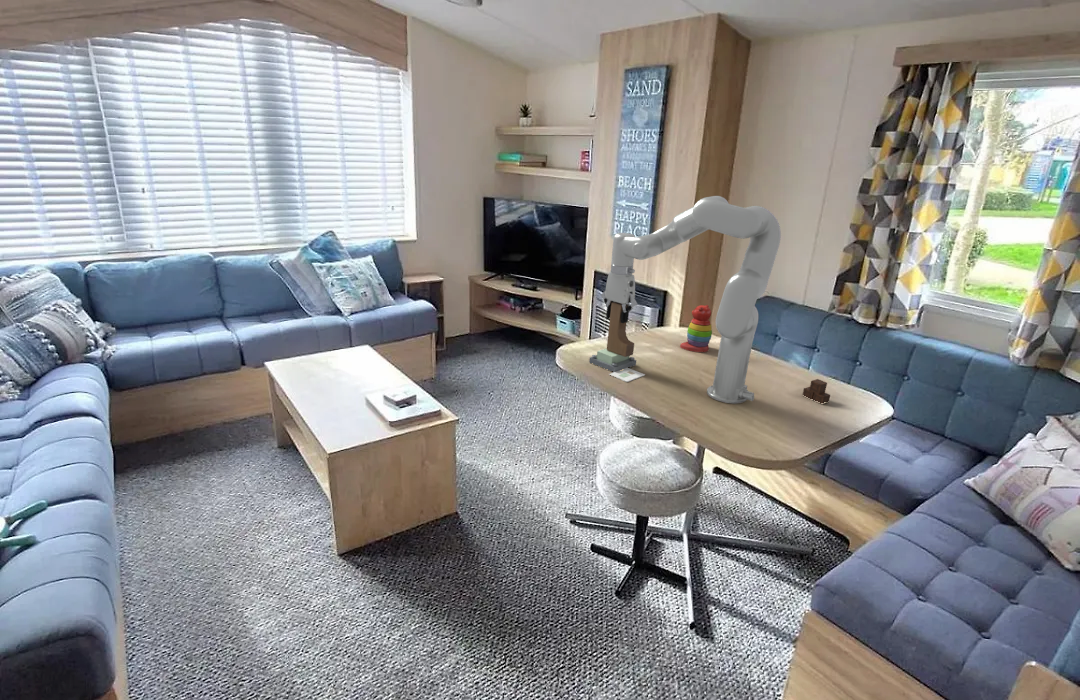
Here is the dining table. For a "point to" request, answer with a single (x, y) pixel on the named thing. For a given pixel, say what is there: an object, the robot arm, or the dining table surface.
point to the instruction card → (627, 374)
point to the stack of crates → (817, 391)
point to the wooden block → (618, 333)
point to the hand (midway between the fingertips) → (616, 319)
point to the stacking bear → (699, 330)
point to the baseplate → (614, 365)
